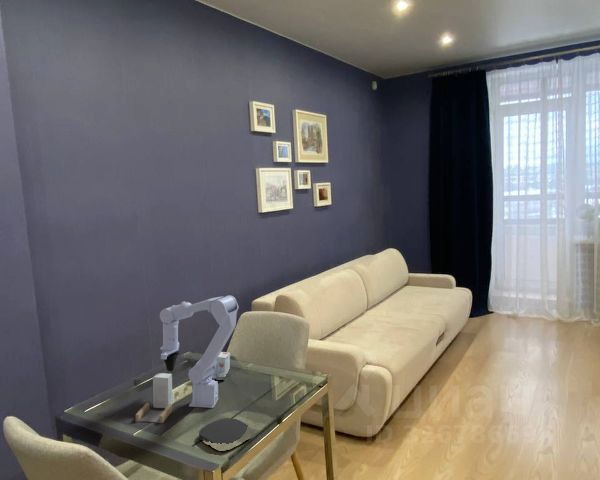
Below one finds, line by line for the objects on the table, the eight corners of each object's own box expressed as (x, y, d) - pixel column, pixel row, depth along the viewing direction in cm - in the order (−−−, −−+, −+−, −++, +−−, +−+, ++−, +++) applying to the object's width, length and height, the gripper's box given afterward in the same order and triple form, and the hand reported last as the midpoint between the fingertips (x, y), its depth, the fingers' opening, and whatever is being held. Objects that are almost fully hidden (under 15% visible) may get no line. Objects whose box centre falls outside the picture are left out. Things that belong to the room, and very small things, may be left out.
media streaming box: (256, 437, 146) (256, 428, 146) (221, 456, 136) (221, 446, 135) (228, 421, 156) (228, 413, 156) (194, 438, 145) (194, 429, 145)
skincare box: (172, 403, 169) (172, 373, 168) (168, 408, 164) (168, 378, 163) (157, 402, 169) (157, 372, 168) (152, 407, 165) (152, 377, 164)
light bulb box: (201, 379, 191) (201, 355, 190) (207, 373, 198) (207, 350, 197) (225, 381, 190) (225, 357, 188) (230, 375, 196) (230, 352, 195)
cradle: (172, 410, 163) (172, 404, 163) (162, 423, 154) (162, 416, 154) (146, 409, 164) (146, 402, 164) (135, 421, 155) (135, 414, 155)
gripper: (167, 331, 181) (167, 362, 182) (153, 342, 166) (153, 377, 168) (184, 331, 180) (184, 363, 181) (171, 343, 166) (171, 378, 167)
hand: (170, 370), depth 174 cm, fingers closed
